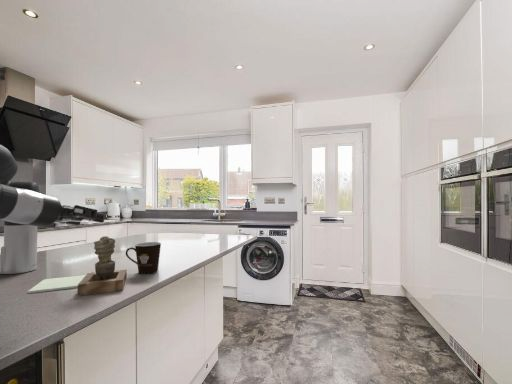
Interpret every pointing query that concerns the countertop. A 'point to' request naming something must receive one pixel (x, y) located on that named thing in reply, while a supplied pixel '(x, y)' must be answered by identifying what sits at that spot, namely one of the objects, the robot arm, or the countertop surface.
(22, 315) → the countertop surface
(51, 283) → the mat
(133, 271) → the countertop surface
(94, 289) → the brown wooden square frame
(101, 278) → the light bulb
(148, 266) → the coffee mug
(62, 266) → the countertop surface
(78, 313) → the countertop surface
